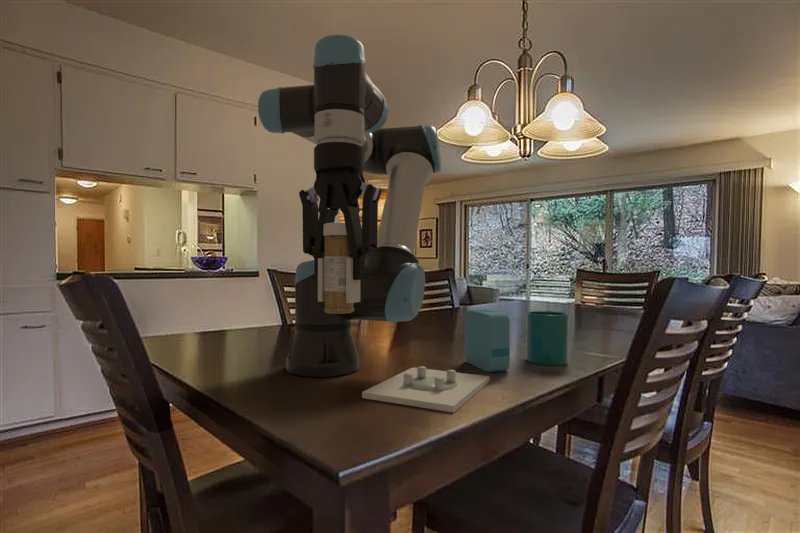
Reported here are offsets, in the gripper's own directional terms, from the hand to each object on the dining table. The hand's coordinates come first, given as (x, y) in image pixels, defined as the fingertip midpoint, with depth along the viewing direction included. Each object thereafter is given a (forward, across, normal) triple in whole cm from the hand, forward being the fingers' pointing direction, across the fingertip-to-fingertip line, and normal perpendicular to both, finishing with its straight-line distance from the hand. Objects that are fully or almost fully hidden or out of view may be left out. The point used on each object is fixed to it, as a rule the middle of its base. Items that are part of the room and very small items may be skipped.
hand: (339, 301), depth 68 cm
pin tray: (+17, +8, +17) cm, 25 cm away
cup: (+17, +21, +51) cm, 58 cm away
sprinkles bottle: (+2, 0, 0) cm, 2 cm away
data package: (+17, +11, +39) cm, 44 cm away
